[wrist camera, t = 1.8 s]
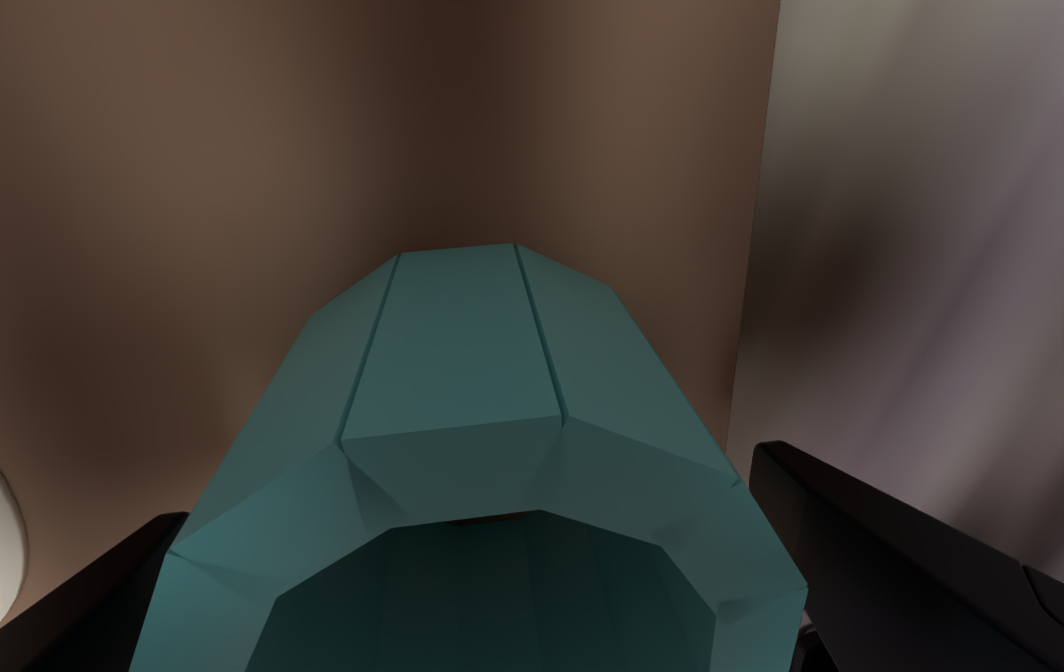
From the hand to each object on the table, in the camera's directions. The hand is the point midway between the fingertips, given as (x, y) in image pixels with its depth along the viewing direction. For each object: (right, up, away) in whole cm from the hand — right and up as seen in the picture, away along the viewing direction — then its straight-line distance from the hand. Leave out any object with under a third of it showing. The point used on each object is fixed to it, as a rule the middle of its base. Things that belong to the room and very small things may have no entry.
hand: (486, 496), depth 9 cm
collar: (0, +1, +2) cm, 2 cm away
